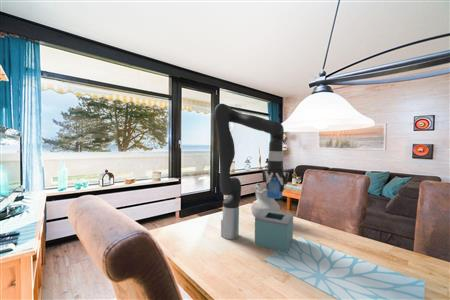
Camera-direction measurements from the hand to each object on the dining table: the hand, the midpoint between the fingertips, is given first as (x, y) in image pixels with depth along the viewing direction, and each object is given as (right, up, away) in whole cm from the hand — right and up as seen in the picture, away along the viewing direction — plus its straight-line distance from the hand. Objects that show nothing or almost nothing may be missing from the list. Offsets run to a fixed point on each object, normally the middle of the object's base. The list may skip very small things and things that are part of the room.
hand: (274, 190), depth 110 cm
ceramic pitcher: (0, -27, +31) cm, 41 cm away
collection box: (0, -28, +1) cm, 28 cm away
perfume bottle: (0, -3, 0) cm, 3 cm away
